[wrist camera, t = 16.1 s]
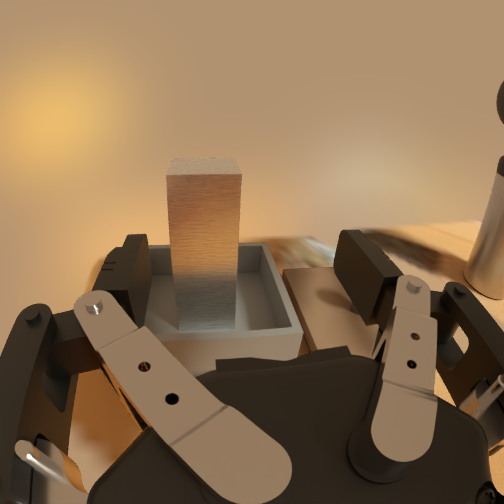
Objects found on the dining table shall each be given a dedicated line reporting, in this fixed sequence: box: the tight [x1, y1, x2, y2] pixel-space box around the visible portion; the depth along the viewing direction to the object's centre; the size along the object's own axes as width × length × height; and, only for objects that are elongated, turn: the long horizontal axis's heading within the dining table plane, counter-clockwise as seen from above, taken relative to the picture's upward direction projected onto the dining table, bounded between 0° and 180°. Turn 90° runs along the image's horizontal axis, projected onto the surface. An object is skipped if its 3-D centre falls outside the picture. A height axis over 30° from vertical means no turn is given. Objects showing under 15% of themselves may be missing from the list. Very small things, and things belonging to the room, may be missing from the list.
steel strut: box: [166, 158, 242, 331], centre depth 25 cm, size 5×5×14 cm
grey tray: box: [144, 243, 304, 376], centre depth 28 cm, size 14×14×4 cm
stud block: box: [282, 267, 379, 358], centre depth 28 cm, size 12×16×6 cm
